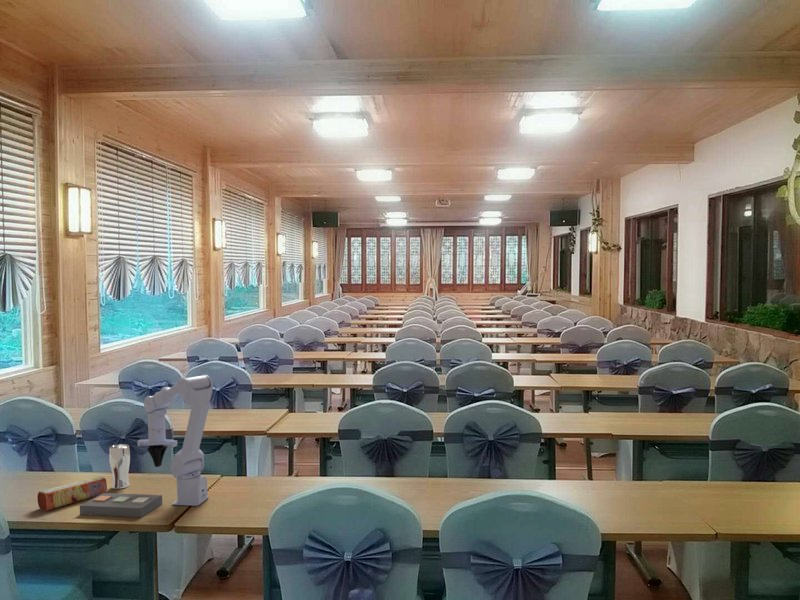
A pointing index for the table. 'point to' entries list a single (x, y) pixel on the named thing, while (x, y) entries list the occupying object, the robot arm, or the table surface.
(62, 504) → the snack package
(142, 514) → the button panel
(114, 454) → the beer glass
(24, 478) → the table surface
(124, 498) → the sage button
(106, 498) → the terracotta button
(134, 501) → the off-white button
